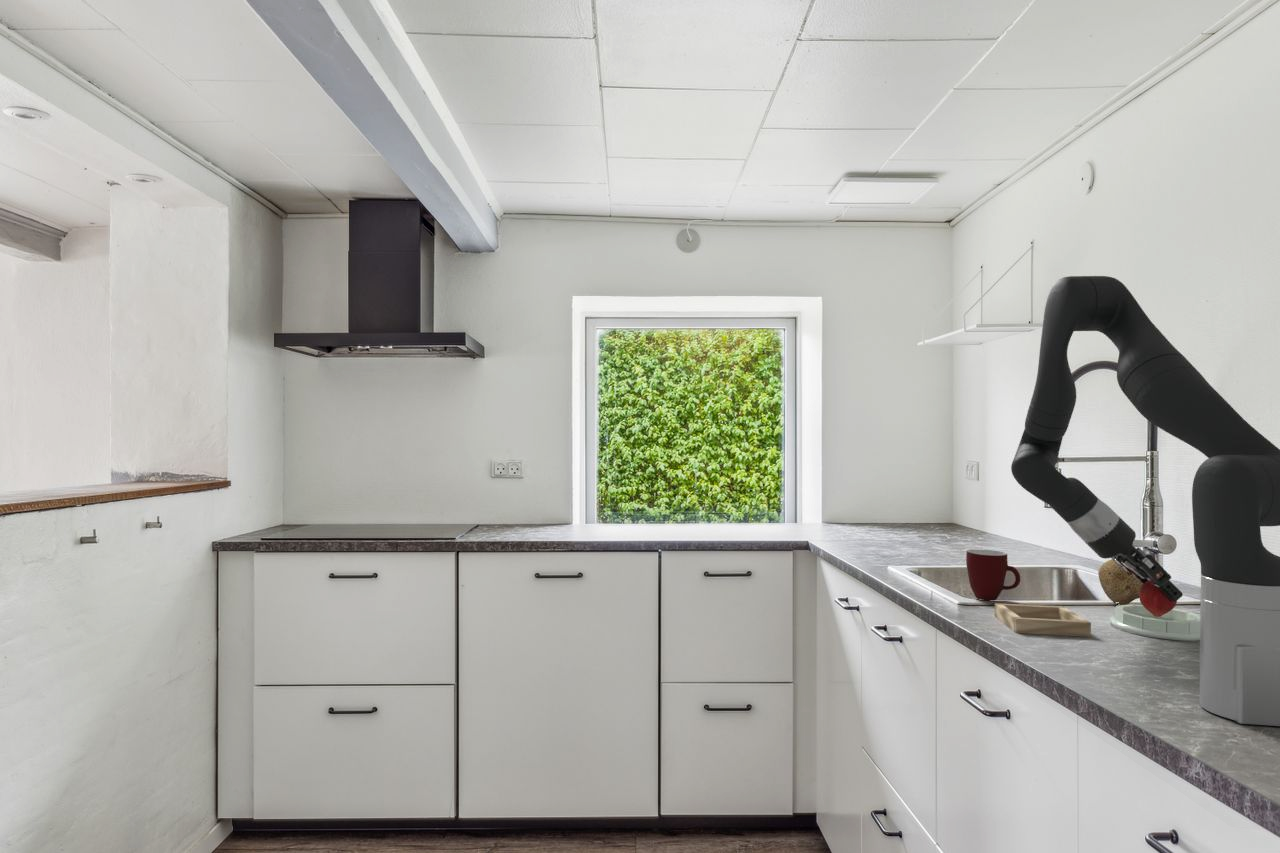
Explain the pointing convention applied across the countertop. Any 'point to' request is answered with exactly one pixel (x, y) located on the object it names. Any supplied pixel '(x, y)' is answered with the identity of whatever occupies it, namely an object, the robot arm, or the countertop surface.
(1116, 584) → the natural sponge
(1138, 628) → the dish
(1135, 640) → the countertop surface
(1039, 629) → the holder
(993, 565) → the mug
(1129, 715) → the countertop surface
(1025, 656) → the countertop surface
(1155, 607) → the onion
